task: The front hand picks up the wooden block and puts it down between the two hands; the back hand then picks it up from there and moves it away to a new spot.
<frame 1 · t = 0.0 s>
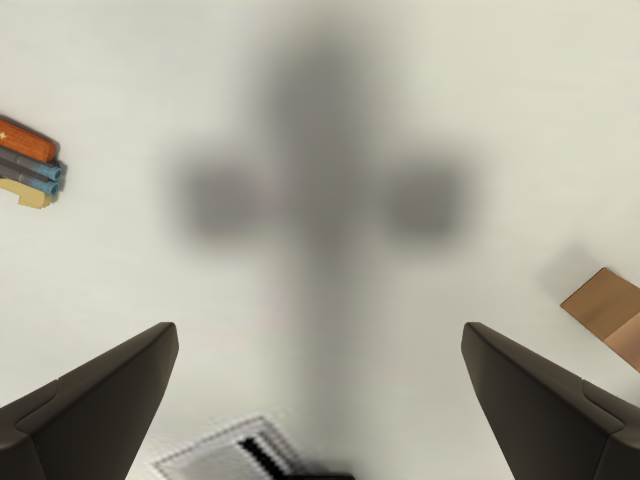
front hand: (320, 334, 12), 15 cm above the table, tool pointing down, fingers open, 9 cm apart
block: (601, 304, 28), on the table
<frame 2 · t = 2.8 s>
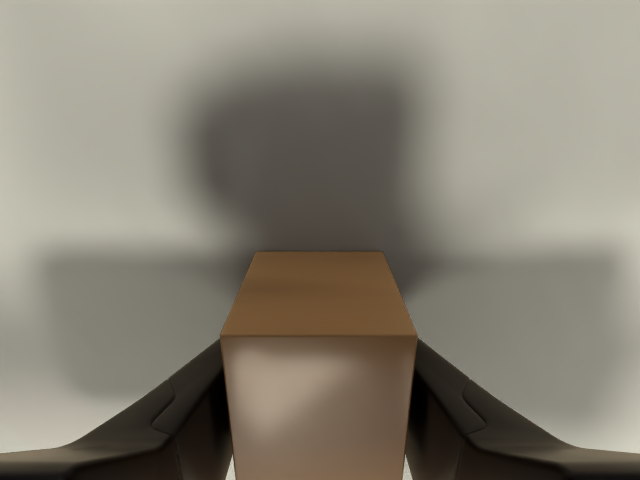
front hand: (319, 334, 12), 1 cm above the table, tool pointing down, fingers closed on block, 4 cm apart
block: (319, 317, 13), on the table, touching front hand
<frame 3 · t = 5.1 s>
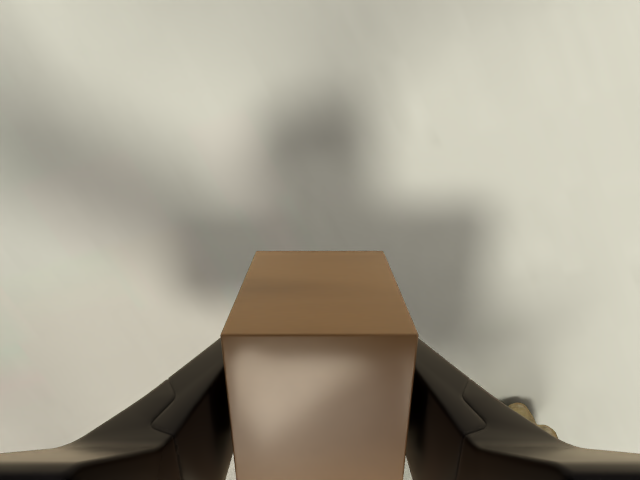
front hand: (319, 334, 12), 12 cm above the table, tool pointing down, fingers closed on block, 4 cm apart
sculpture: (486, 422, 28), on the table
block: (319, 316, 13), point 11 cm above the table, touching front hand
when the front hand's fingers open (2 cm above the table, at t = 7.8 s): block drops 1 cm, on the table.
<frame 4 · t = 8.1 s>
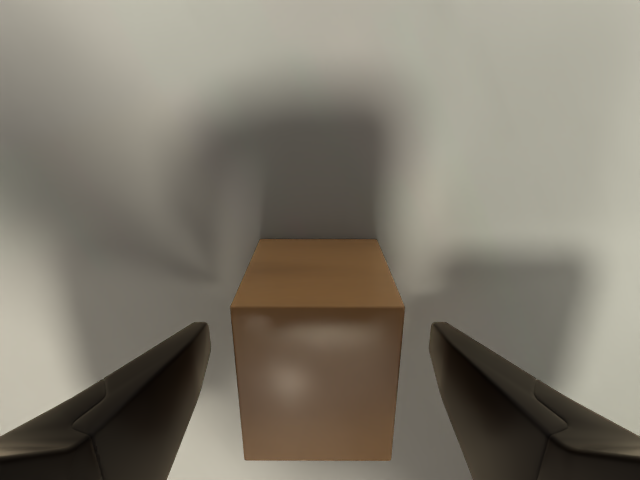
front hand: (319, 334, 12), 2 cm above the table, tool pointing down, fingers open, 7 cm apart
block: (318, 300, 14), on the table
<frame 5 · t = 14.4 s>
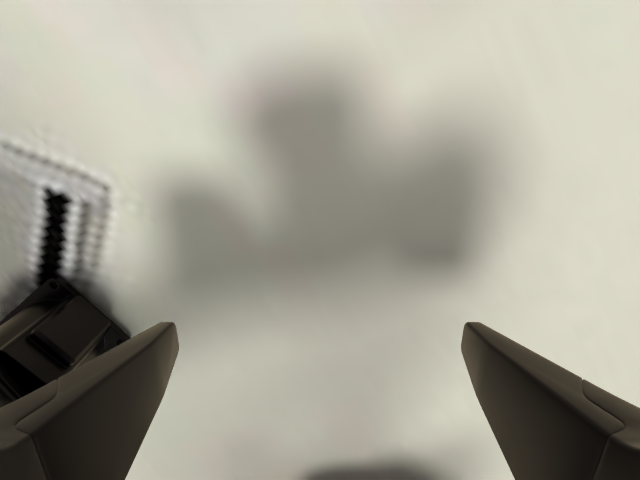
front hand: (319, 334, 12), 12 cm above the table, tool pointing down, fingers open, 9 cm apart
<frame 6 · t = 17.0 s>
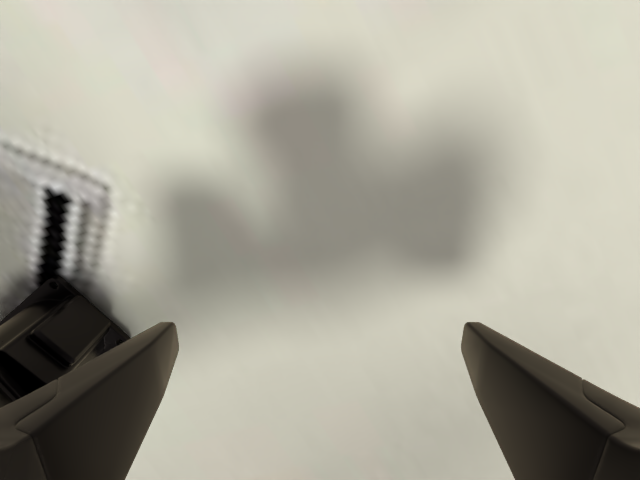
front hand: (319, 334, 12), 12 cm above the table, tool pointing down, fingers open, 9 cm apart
when the back hand's fingers open (2 cm above the table, at t = 19.9 s): block drops 1 cm, on the table.
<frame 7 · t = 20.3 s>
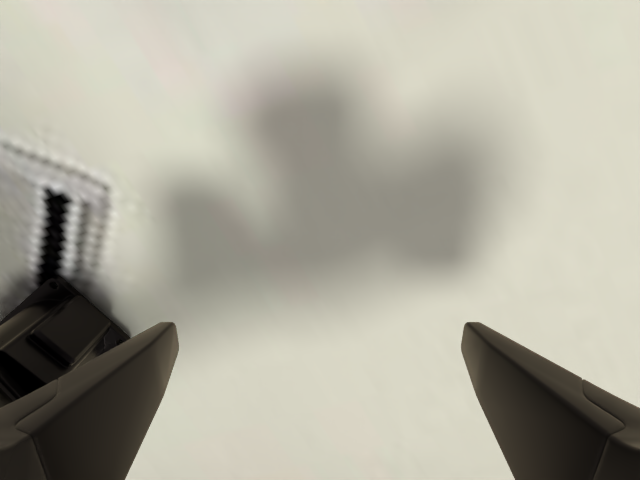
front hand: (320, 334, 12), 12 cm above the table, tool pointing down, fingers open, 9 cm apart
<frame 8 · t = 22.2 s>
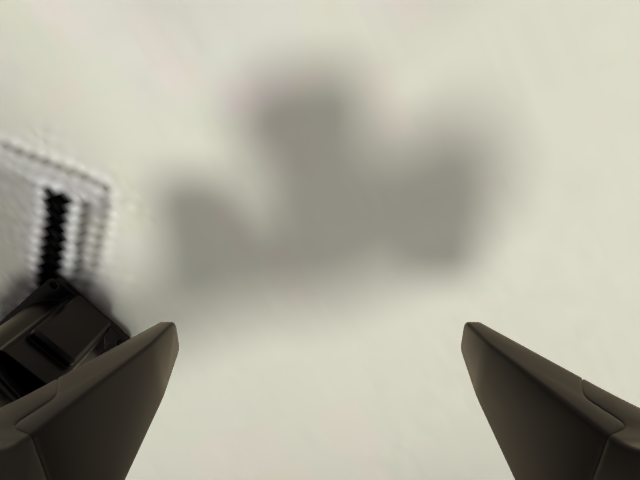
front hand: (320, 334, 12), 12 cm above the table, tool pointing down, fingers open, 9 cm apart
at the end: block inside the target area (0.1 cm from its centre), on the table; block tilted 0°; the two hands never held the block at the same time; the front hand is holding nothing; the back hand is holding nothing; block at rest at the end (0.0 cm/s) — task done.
